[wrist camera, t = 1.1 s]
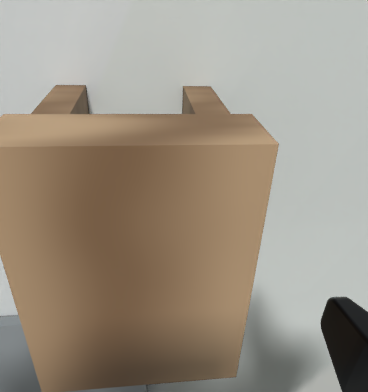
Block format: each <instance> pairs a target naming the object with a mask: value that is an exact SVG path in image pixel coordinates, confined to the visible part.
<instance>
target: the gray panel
mask: <svg viewBox="0 0 368 392" xmlns="http://www.w3.org/2000/svg"><path fill="white" fill-rule="evenodd" d="M0 392H42V391H41V388H40V384H39V381H38V378H37V374H36V371H35V368H34V364H33V361H32V358H31V355H30V351H29V348H28V345H27V341H26V338H25V335H24V331H23V328H22V325H21V322H20V318H19V315H17V316H1V317H0ZM66 392H146V385H137V386H125V387H113V388H101V389H90V390H78V391H66Z"/></svg>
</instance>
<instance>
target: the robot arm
mask: <svg viewBox="0 0 368 392" xmlns="http://www.w3.org/2000/svg"><path fill="white" fill-rule="evenodd" d="M321 329H322V333H323V336H324V339H325V342H326V345H327V348H328V351H329V354H330V357H331V360H332V363H333V366H334V369H335V372H336V375H337V378H338V381H339V384H340V386H341V389H342V392H368V312H367V311H366V310H364V309H363V308H362V307H360V306H359V305H357V304H356V303H355V302H353V301H352V300H351V299H349V298H347V297H332V298H330V299H329V300H328V301H327V304H326V307H325V310H324V312H323V315H322V318H321Z"/></svg>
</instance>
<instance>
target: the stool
mask: <svg viewBox="0 0 368 392" xmlns="http://www.w3.org/2000/svg"><path fill="white" fill-rule="evenodd" d="M278 145H279V144H278V143H277V142H276V141H275V139H274V138H273V137H272V136H271V135H270V134H269V133H268V132H267V130H266V129H265V128H264V127H263V126H262V125H261V124H260V123H259V122H258V120H257V119H256V118H255V117H254V116H253V115H252V114H230V112H229V111H228V110H227V108H226V107H225V106H224V104H223V103H222V101H221V100H220V99H219V97H218V96H217V94H216V93H215V92H214V90H213V89H212V88H211V87H207V86H183V108H182V114H89V111H88V102H87V93H86V85H56V86H55V87H54V88H53V89H52V90H51V91H50V92H49V94H48V95H47V96H46V97H45V98H44V99H43V100H42V102H41V103H40V104H39V105H38V106H37V107H36V108H35V110H34V111H33V112H32V113H31V114H3V115H2V116H1V117H0V255H1V259H2V262H3V265H4V269H5V272H6V275H7V279H8V282H9V285H10V288H11V292H12V295H13V298H14V302H15V305H16V308H17V312H18V315H19V318H20V322H21V325H22V328H23V331H24V335H25V338H26V341H27V345H28V348H29V351H30V355H31V358H32V361H33V364H34V368H35V371H36V374H37V378H38V381H39V384H40V388H41V391H42V392H66V391H78V390H90V389H101V388H113V387H125V386H137V385H148V384H160V383H172V382H184V381H195V380H207V379H219V378H231V377H236V374H237V369H238V363H239V358H240V352H241V347H242V342H243V336H244V331H245V325H246V320H247V314H248V309H249V303H250V298H251V293H252V287H253V282H254V276H255V271H256V265H257V260H258V254H259V249H260V244H261V238H262V233H263V227H264V222H265V216H266V211H267V205H268V200H269V194H270V189H271V184H272V178H273V173H274V167H275V162H276V156H277V151H278Z"/></svg>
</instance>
